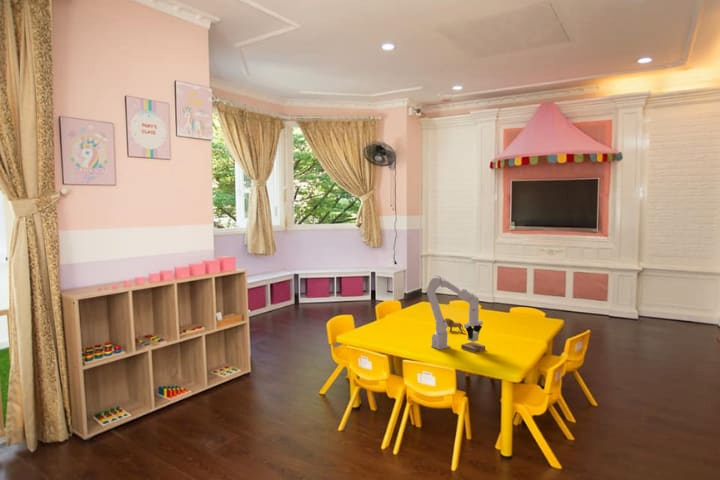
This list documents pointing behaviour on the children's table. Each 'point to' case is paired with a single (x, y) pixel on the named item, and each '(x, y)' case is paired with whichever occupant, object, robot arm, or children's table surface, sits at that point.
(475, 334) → the sage block
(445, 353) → the children's table surface
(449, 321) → the lion figurine
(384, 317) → the children's table surface
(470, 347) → the walnut plinth
